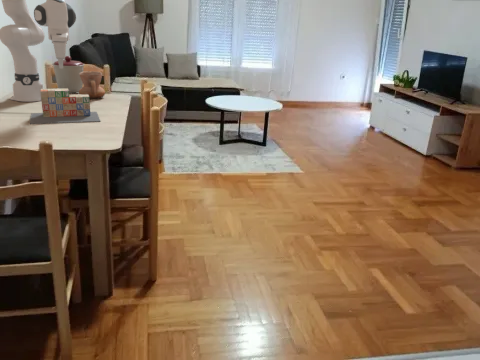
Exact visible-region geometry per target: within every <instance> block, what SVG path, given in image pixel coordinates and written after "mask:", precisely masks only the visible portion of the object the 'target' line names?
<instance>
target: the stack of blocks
mask: <svg viewBox="0 0 480 360" xmlns="http://www.w3.org/2000/svg"><path fill="white" fill-rule="evenodd" d="M90 100H91V99H89V95H88V94H85V95H82V94H80V95H79V94H70V93H69V90H68V88H65V89H58V88H43V89H41V100H40V101H41V109H42V113H43V117H60V116H89V115H90V112H91V101H90Z"/></svg>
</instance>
